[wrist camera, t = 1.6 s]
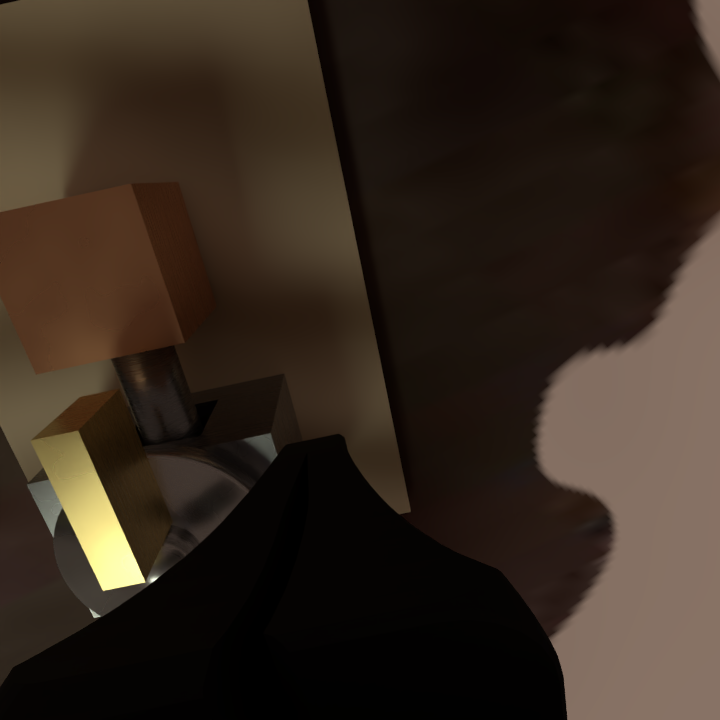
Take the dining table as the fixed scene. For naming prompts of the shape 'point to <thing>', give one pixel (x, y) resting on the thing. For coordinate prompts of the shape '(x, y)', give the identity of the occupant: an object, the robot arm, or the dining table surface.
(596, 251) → the dining table surface
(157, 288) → the brown blocky piece
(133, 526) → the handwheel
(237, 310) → the oak board
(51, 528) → the eye block
